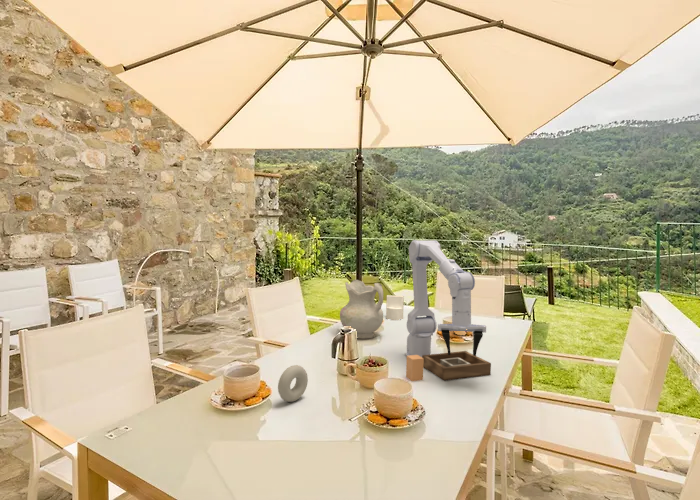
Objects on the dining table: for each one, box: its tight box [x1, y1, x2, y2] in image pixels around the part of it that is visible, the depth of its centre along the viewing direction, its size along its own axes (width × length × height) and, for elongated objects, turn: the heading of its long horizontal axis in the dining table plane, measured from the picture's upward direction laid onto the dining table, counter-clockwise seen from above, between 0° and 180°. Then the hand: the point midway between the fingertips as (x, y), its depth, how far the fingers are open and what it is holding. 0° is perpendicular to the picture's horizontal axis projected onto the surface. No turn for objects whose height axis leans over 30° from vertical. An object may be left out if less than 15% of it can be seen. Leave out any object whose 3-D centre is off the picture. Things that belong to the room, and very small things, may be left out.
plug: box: [405, 355, 424, 382], centre depth 134 cm, size 4×4×7 cm
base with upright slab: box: [385, 294, 405, 321], centre depth 219 cm, size 9×9×12 cm
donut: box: [277, 364, 309, 403], centre depth 115 cm, size 10×4×10 cm, turn 140°
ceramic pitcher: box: [339, 279, 384, 340], centre depth 183 cm, size 22×20×25 cm
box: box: [422, 350, 492, 382], centre depth 142 cm, size 14×18×4 cm
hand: (461, 354), depth 129 cm, fingers open, 7 cm apart
